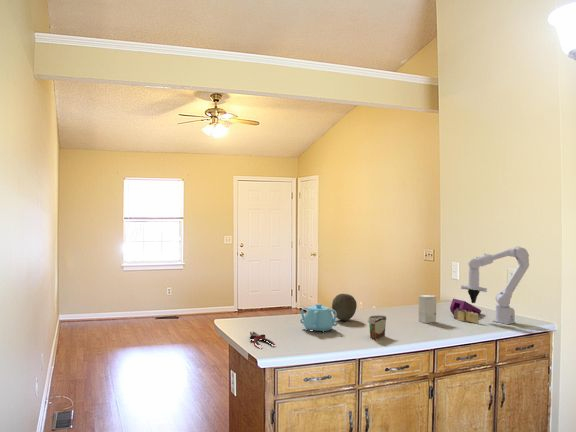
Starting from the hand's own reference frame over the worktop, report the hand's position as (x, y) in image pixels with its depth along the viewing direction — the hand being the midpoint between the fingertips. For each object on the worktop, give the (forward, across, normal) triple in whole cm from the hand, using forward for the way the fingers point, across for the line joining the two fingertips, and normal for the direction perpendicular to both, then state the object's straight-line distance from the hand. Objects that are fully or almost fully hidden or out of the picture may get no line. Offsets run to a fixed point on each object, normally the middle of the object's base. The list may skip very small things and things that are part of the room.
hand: (473, 302), depth 280 cm
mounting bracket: (+10, +9, -12) cm, 18 cm away
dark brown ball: (+10, +51, +55) cm, 76 cm away
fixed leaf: (+10, +5, +5) cm, 12 cm away
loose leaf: (+10, 0, +6) cm, 11 cm away
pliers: (+10, +51, +120) cm, 131 cm away
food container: (+10, +18, +73) cm, 76 cm away
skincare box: (+10, +16, +24) cm, 30 cm away
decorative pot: (+10, +47, +82) cm, 95 cm away
